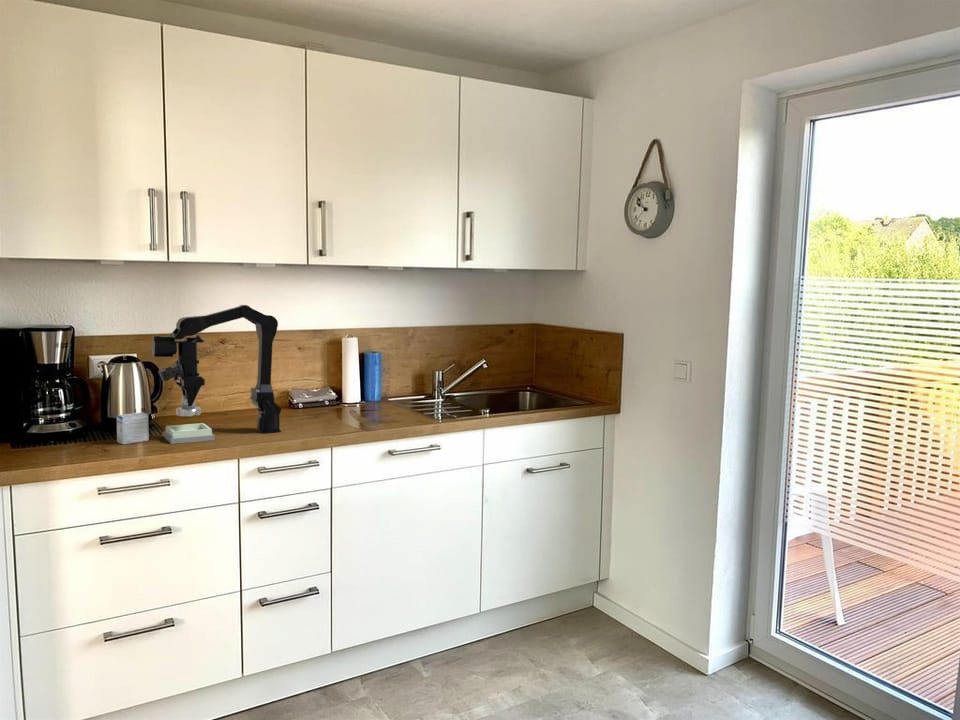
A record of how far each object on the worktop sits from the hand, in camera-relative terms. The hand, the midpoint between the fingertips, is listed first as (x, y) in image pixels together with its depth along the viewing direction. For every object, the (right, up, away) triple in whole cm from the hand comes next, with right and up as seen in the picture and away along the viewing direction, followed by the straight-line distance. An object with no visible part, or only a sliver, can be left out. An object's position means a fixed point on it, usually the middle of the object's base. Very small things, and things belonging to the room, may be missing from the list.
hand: (188, 405), depth 226 cm
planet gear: (0, -3, 0) cm, 3 cm away
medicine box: (-15, -11, -6) cm, 20 cm away
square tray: (0, -11, +1) cm, 11 cm away
